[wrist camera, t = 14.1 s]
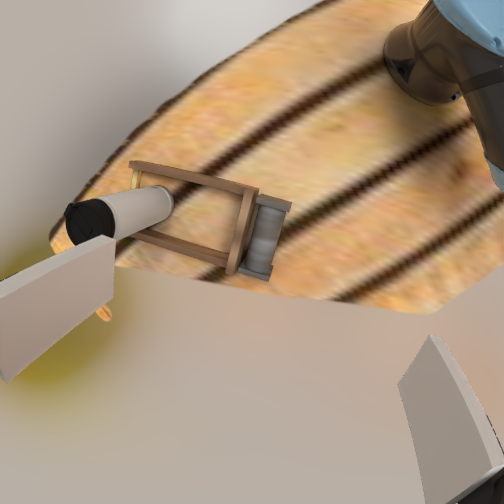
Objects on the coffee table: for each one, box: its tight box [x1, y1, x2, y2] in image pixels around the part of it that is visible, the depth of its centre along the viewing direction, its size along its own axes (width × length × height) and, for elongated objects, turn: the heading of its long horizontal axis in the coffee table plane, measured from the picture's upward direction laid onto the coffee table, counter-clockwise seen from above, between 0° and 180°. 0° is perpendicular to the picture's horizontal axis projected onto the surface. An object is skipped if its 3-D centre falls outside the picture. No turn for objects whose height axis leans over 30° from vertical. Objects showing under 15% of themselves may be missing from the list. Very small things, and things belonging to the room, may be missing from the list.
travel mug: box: [64, 185, 174, 246], centre depth 37 cm, size 6×7×20 cm
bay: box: [129, 161, 292, 281], centre depth 44 cm, size 13×27×5 cm, turn 76°
